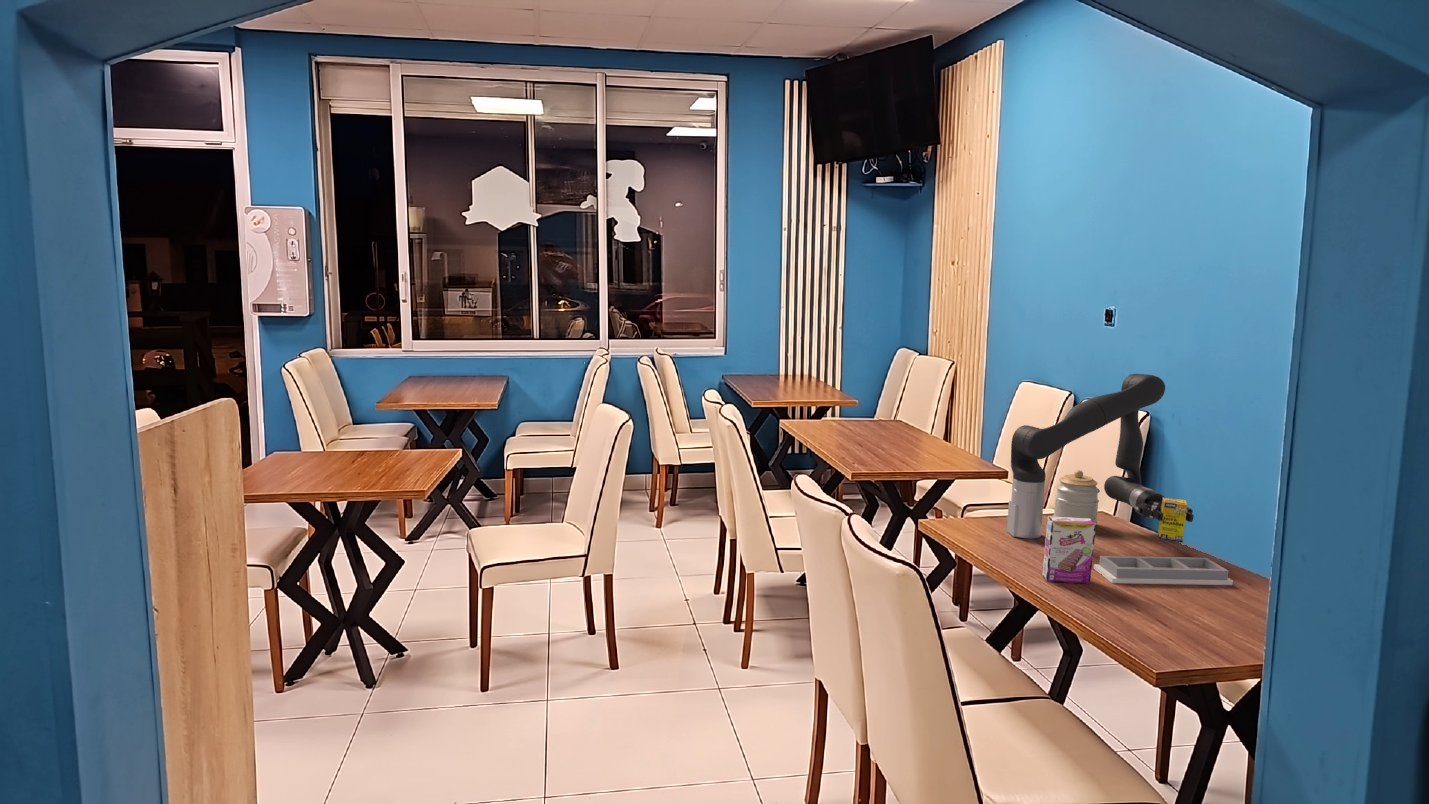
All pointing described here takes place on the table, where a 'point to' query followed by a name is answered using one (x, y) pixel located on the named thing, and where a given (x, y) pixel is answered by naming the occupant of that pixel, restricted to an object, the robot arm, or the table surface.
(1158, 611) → the table surface
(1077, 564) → the candy bar box
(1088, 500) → the jar
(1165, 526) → the supplement box
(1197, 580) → the rack
